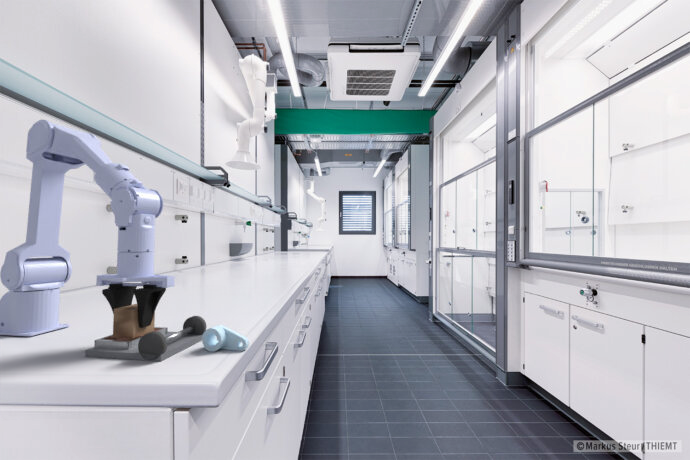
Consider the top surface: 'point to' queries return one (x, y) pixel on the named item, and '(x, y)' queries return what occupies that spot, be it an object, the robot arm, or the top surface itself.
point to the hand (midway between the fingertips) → (133, 325)
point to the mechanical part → (223, 339)
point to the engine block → (129, 323)
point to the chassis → (150, 343)
